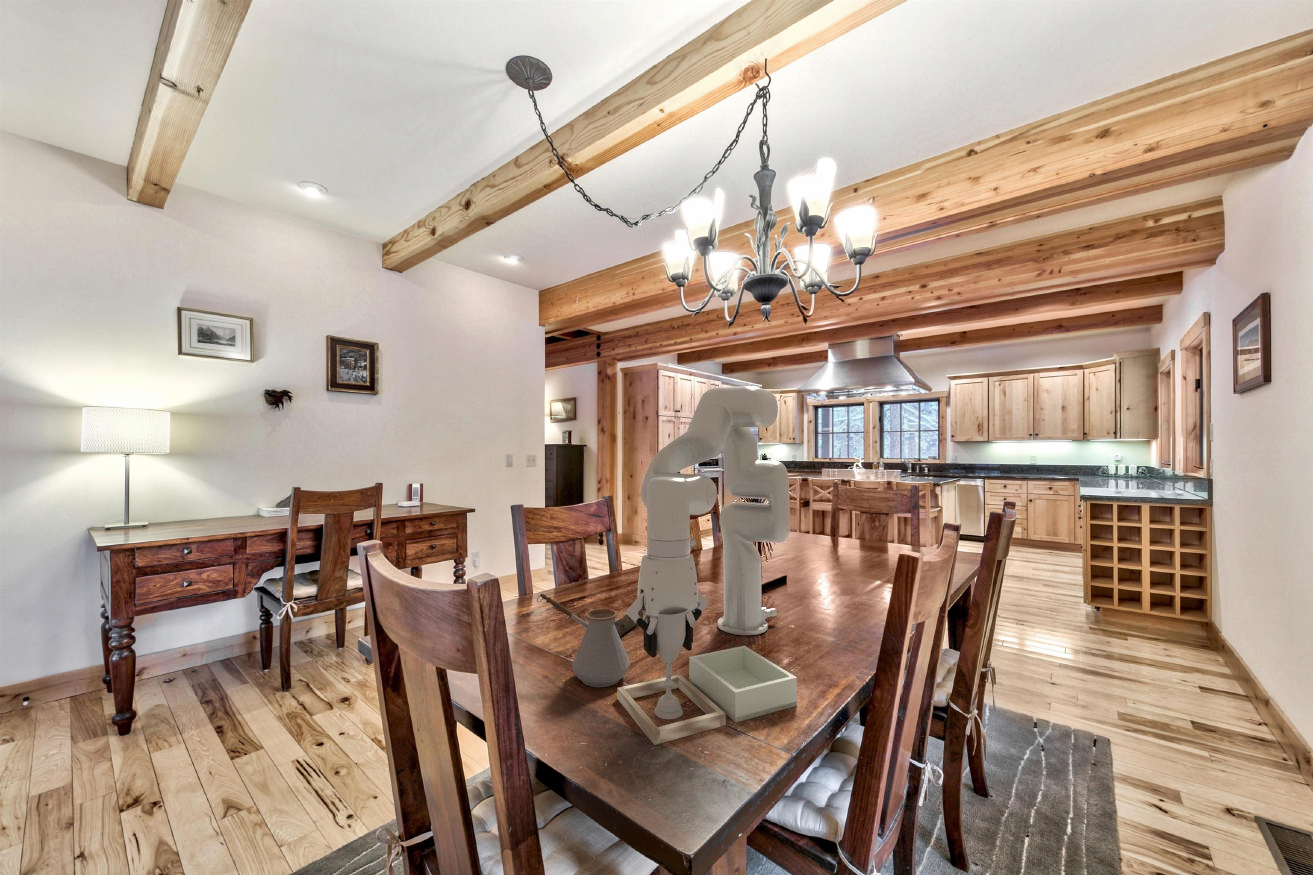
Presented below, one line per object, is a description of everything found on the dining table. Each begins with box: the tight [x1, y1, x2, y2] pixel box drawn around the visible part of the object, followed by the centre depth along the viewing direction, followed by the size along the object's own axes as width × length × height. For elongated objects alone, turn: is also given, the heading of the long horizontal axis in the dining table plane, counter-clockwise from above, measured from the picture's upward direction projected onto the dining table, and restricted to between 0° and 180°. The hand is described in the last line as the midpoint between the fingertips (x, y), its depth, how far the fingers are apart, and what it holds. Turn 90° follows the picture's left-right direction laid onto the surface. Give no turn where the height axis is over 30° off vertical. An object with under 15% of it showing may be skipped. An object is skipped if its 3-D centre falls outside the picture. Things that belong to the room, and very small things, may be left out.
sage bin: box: [688, 645, 798, 723], centre depth 96 cm, size 13×16×5 cm
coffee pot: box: [536, 593, 631, 688], centre depth 105 cm, size 21×12×15 cm, turn 64°
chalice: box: [653, 610, 687, 720], centre depth 90 cm, size 7×7×18 cm
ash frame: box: [616, 673, 726, 746], centre depth 90 cm, size 13×16×2 cm
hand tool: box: [614, 610, 644, 637], centre depth 128 cm, size 19×4×5 cm, turn 152°
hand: (668, 650), depth 90 cm, fingers closed on chalice, 6 cm apart
